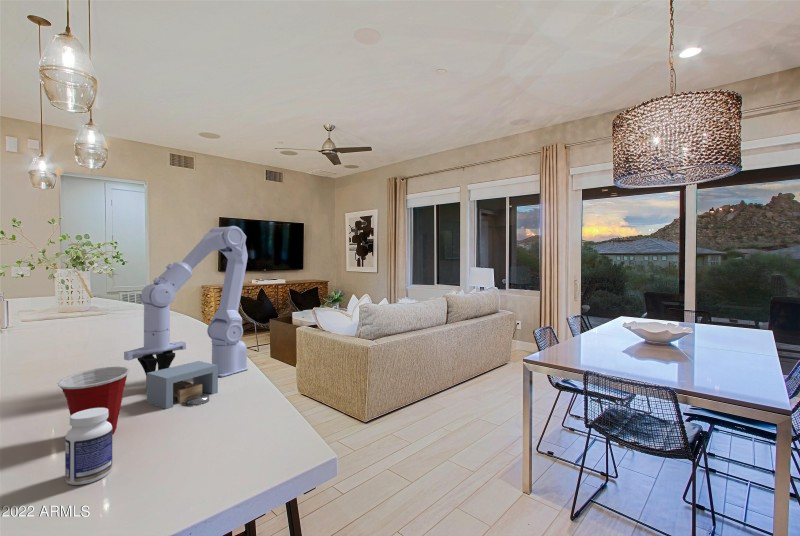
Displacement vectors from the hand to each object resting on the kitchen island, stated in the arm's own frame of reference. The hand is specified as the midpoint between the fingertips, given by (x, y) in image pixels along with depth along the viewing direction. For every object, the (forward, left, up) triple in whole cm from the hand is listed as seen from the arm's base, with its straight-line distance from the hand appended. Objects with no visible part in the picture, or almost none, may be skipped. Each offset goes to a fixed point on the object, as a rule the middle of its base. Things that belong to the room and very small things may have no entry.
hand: (156, 381), depth 100 cm
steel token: (0, +18, -2) cm, 18 cm away
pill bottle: (+28, +33, -2) cm, 43 cm away
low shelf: (0, +12, -2) cm, 12 cm away
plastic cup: (+21, +18, -2) cm, 28 cm away
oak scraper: (0, +5, -2) cm, 6 cm away
